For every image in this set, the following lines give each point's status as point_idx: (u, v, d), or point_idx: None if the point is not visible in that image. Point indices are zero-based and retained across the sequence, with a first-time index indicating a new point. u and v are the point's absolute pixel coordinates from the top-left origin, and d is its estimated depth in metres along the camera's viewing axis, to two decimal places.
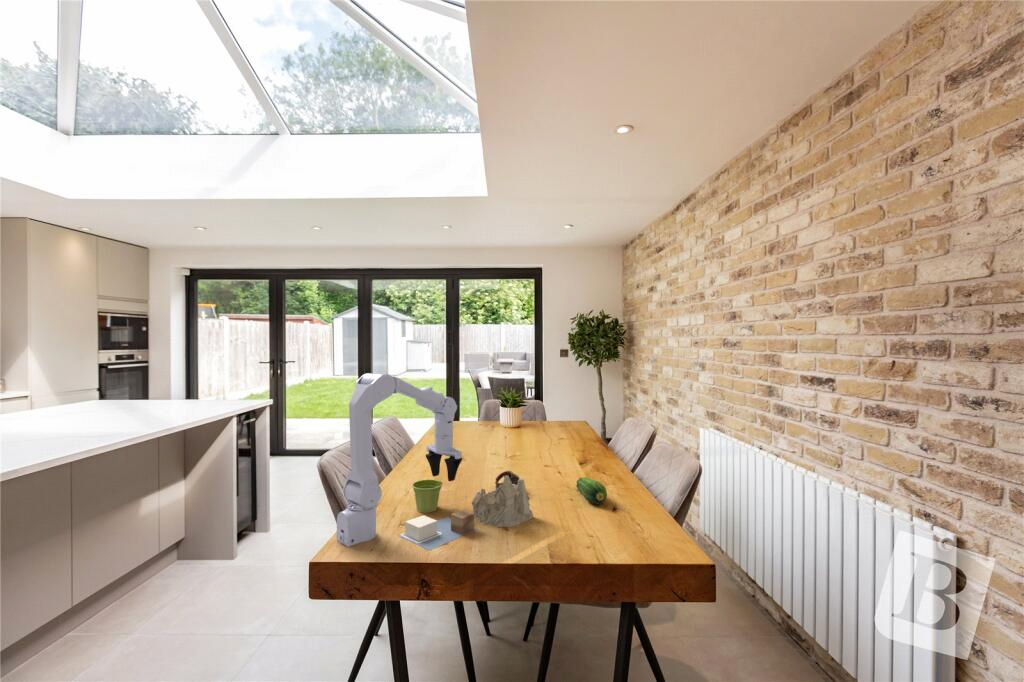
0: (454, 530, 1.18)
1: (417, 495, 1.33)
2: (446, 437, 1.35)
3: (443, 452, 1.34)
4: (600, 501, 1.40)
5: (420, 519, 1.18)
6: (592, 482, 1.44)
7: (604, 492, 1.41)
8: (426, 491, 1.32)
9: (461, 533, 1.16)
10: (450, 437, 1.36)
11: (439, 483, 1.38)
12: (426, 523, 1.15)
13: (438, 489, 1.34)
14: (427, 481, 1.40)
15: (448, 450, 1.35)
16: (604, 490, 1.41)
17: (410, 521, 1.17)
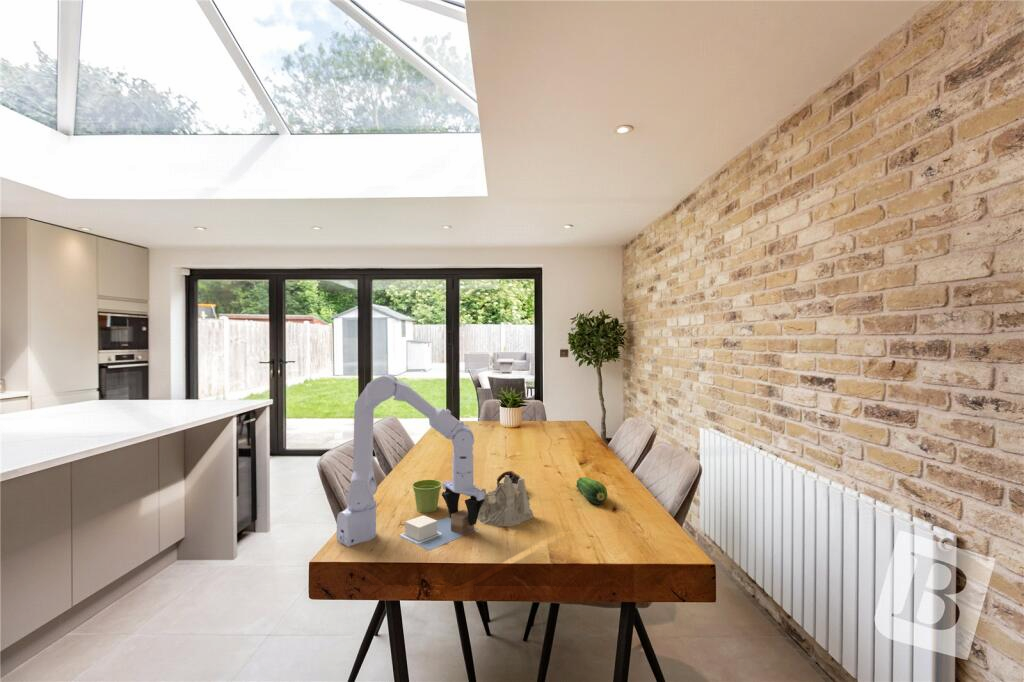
0: (454, 530, 1.18)
1: (417, 495, 1.33)
2: (466, 474, 1.17)
3: (463, 492, 1.16)
4: (600, 501, 1.41)
5: (420, 519, 1.18)
6: (592, 482, 1.44)
7: (604, 492, 1.41)
8: (426, 491, 1.32)
9: (461, 533, 1.16)
10: (470, 474, 1.18)
11: (439, 483, 1.38)
12: (426, 523, 1.15)
13: (438, 489, 1.34)
14: (427, 481, 1.40)
15: (468, 489, 1.17)
16: (604, 490, 1.41)
17: (410, 521, 1.17)
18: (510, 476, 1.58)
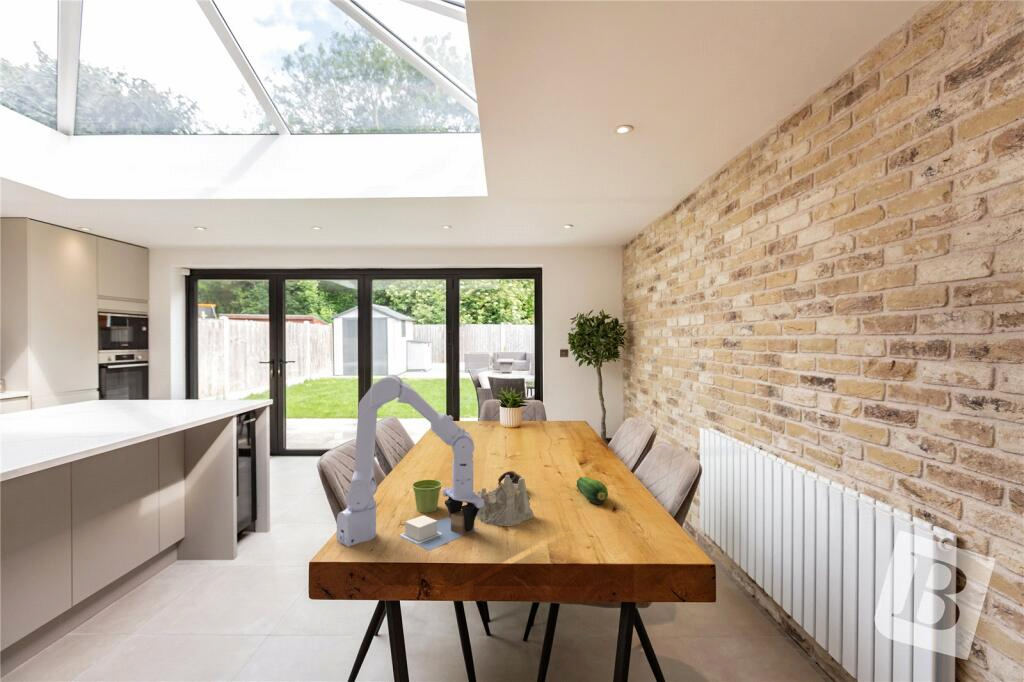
0: (454, 530, 1.18)
1: (417, 495, 1.33)
2: (466, 482, 1.17)
3: (463, 499, 1.16)
4: (601, 500, 1.41)
5: (420, 519, 1.18)
6: (593, 482, 1.44)
7: (605, 491, 1.41)
8: (426, 491, 1.32)
9: (461, 533, 1.16)
10: (470, 481, 1.18)
11: (439, 483, 1.38)
12: (426, 523, 1.15)
13: (438, 489, 1.34)
14: (427, 481, 1.40)
15: (468, 496, 1.17)
16: (605, 489, 1.42)
17: (410, 521, 1.17)
18: (511, 476, 1.58)
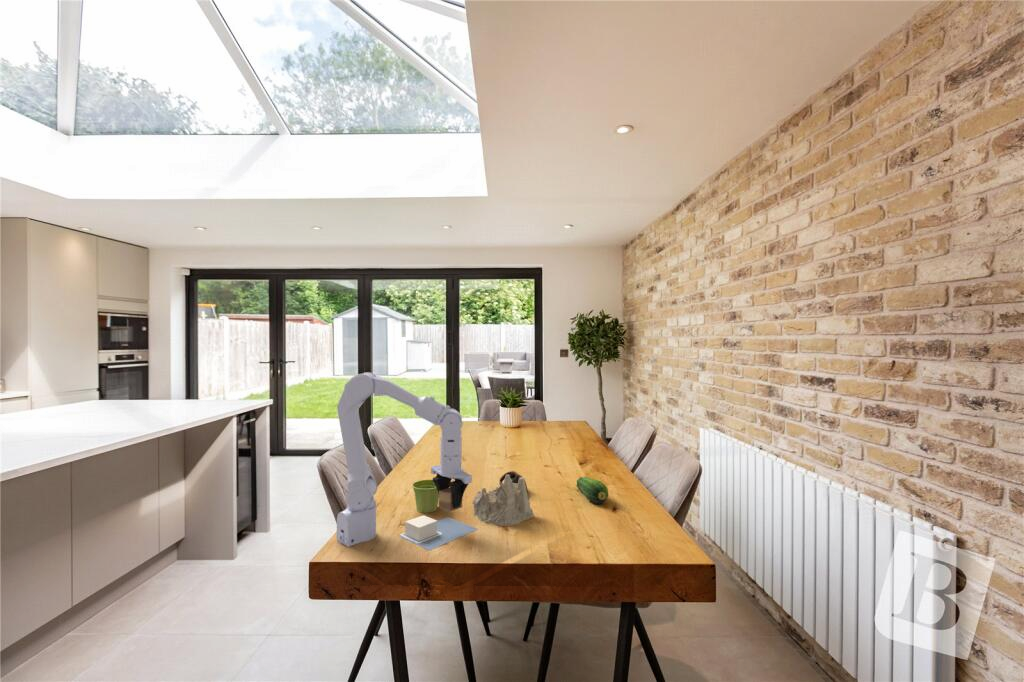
0: (442, 507, 1.18)
1: (417, 495, 1.33)
2: (454, 458, 1.16)
3: (450, 475, 1.15)
4: (602, 500, 1.41)
5: (420, 519, 1.18)
6: (593, 481, 1.44)
7: (605, 491, 1.41)
8: (426, 491, 1.32)
9: (449, 509, 1.16)
10: (458, 458, 1.17)
11: None
12: (426, 523, 1.15)
13: None
14: (427, 481, 1.40)
15: (456, 473, 1.17)
16: (606, 489, 1.42)
17: (410, 521, 1.17)
18: (512, 476, 1.58)
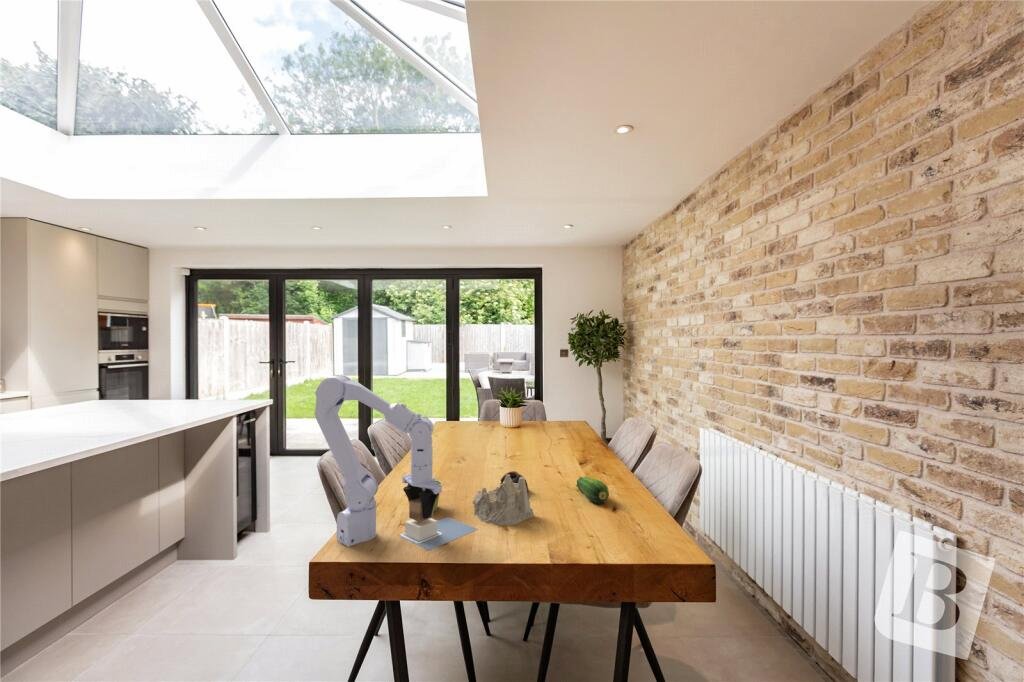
0: (412, 517, 1.16)
1: None
2: (424, 467, 1.15)
3: (420, 485, 1.14)
4: (602, 500, 1.41)
5: None
6: (594, 481, 1.44)
7: (606, 491, 1.42)
8: None
9: (419, 520, 1.14)
10: (429, 467, 1.16)
11: (439, 483, 1.38)
12: (426, 523, 1.15)
13: None
14: None
15: (426, 483, 1.15)
16: (606, 489, 1.42)
17: (410, 521, 1.17)
18: (513, 476, 1.58)
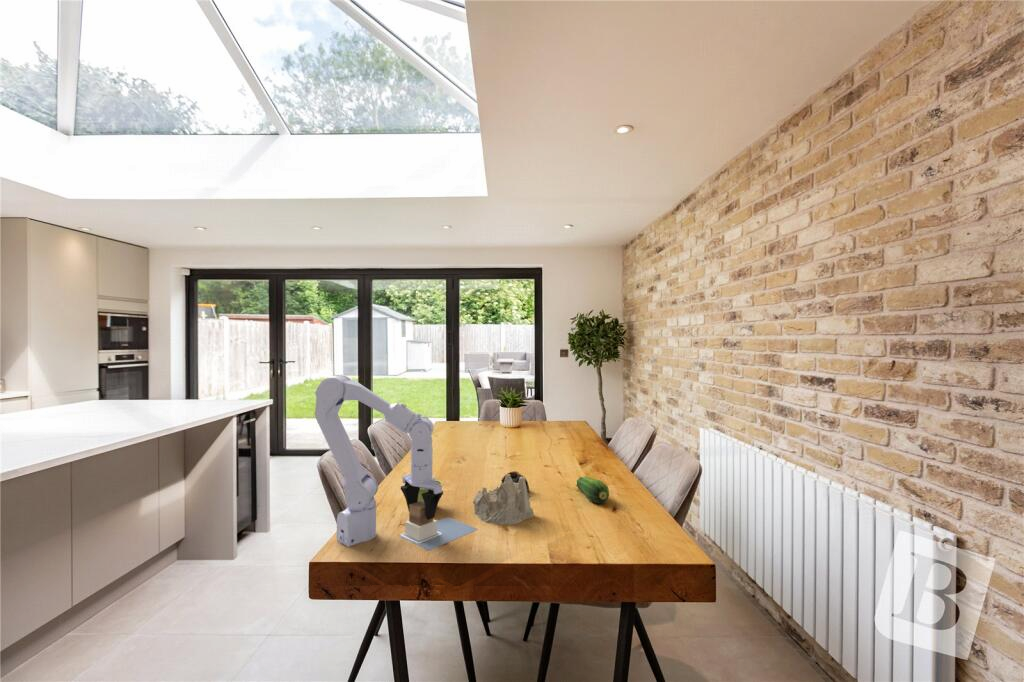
0: (412, 521, 1.16)
1: None
2: (424, 467, 1.15)
3: (420, 485, 1.14)
4: (603, 500, 1.41)
5: None
6: (594, 481, 1.45)
7: (606, 491, 1.42)
8: (426, 491, 1.32)
9: (419, 524, 1.14)
10: (429, 467, 1.16)
11: (439, 483, 1.38)
12: (426, 523, 1.15)
13: None
14: None
15: (426, 482, 1.15)
16: (607, 489, 1.42)
17: None
18: (514, 476, 1.58)
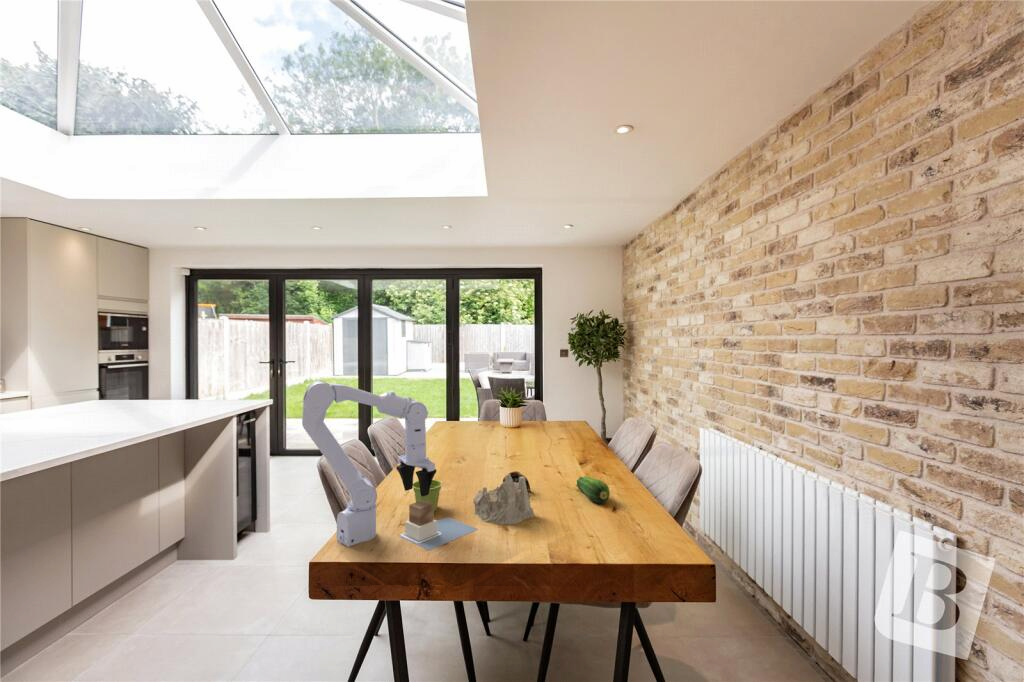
0: (412, 521, 1.16)
1: (417, 495, 1.33)
2: (417, 447, 1.20)
3: (414, 464, 1.19)
4: (603, 500, 1.42)
5: None
6: (595, 481, 1.45)
7: (607, 490, 1.42)
8: None
9: (419, 524, 1.14)
10: (422, 447, 1.21)
11: (439, 483, 1.38)
12: (426, 523, 1.15)
13: (438, 489, 1.34)
14: None
15: (420, 461, 1.20)
16: (607, 489, 1.42)
17: None
18: (515, 476, 1.57)
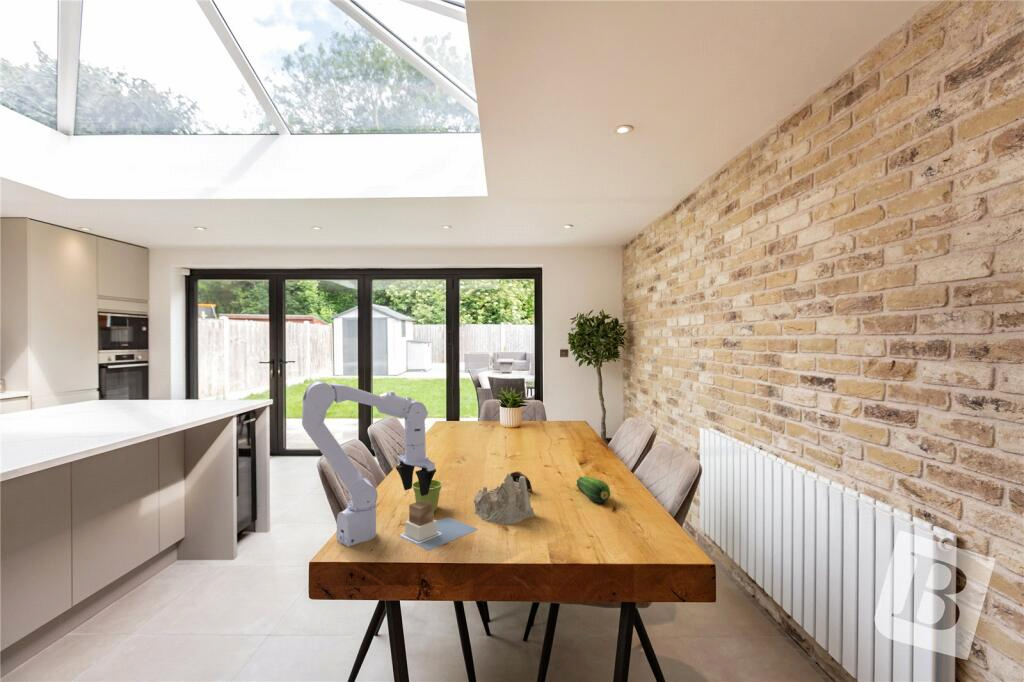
0: (412, 521, 1.16)
1: (417, 495, 1.33)
2: (417, 446, 1.20)
3: (414, 463, 1.19)
4: (604, 499, 1.42)
5: None
6: (595, 481, 1.45)
7: (608, 490, 1.42)
8: None
9: (419, 524, 1.14)
10: (422, 446, 1.21)
11: (439, 483, 1.38)
12: (426, 523, 1.15)
13: (438, 489, 1.34)
14: None
15: (420, 461, 1.20)
16: (608, 488, 1.43)
17: None
18: (517, 477, 1.57)
